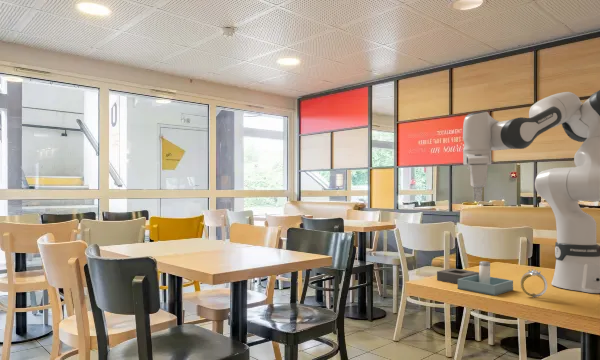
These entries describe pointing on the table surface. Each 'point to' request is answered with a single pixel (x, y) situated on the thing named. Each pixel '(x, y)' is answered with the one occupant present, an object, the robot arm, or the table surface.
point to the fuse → (484, 272)
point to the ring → (528, 274)
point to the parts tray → (485, 285)
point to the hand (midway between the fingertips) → (477, 200)
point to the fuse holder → (454, 275)
